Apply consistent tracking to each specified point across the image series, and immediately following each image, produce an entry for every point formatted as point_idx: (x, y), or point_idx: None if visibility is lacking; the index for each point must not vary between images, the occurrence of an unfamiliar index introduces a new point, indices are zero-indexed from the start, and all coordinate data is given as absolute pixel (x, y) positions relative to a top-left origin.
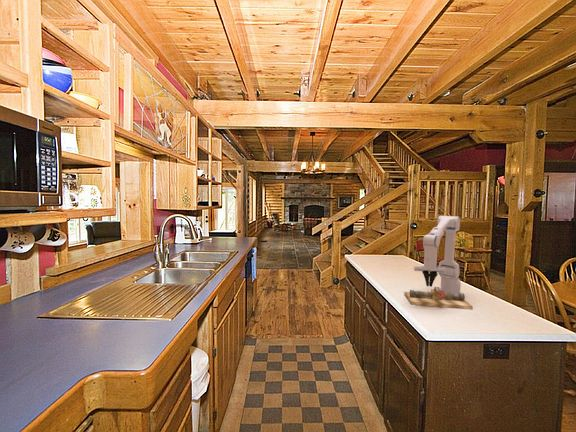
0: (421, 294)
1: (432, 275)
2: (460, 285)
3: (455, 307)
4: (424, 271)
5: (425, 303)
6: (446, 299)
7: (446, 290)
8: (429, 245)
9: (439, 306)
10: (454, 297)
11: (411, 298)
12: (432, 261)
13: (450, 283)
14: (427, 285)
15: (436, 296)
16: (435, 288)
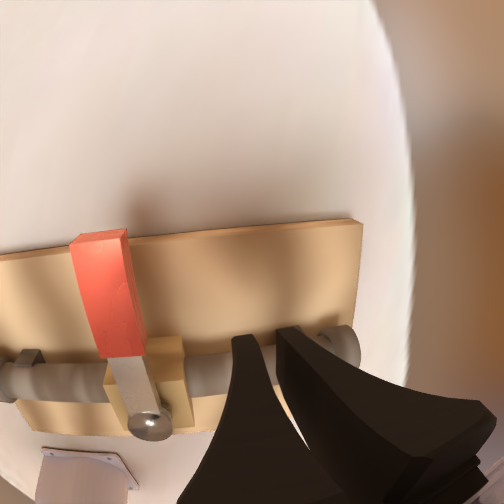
0: (274, 350)
1: (317, 467)
2: (36, 489)
3: (39, 250)
4: (471, 482)
5: (258, 230)
6: (86, 360)
7: (97, 472)
8: None
9: (145, 237)
10: (34, 365)
11: (341, 297)
12: None
13: (76, 502)
14: (299, 332)
15: (154, 352)
16: (162, 413)
